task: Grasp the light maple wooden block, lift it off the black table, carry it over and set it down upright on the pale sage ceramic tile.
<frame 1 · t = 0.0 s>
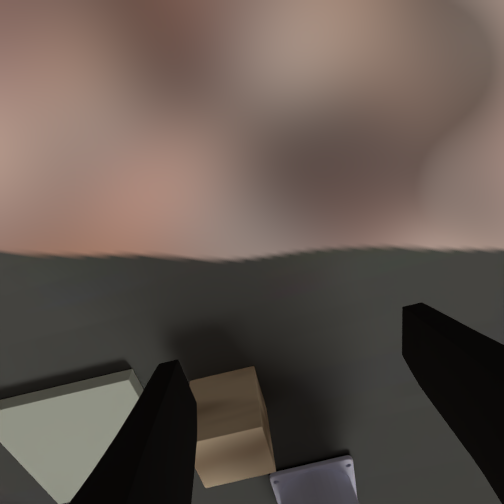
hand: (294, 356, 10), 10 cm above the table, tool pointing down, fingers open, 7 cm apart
maple block: (229, 394, 25), on the table
sage tile: (94, 436, 25), on the table
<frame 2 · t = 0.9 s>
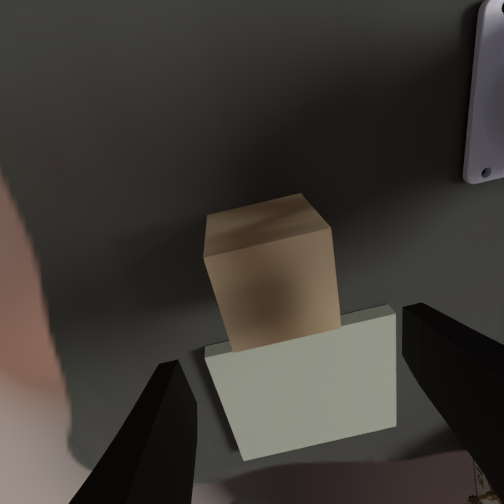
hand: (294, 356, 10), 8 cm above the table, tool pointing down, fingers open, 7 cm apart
maple block: (262, 245, 18), on the table
sage tile: (307, 384, 23), on the table
game die: (488, 432, 28), on the table
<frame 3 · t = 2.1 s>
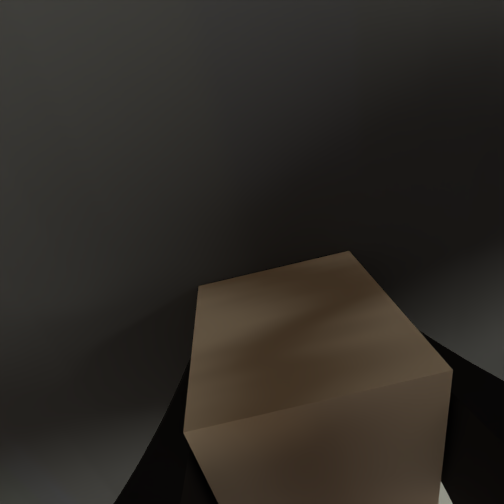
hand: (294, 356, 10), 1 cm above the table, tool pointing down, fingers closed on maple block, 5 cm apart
maple block: (286, 327, 11), on the table, touching gripper
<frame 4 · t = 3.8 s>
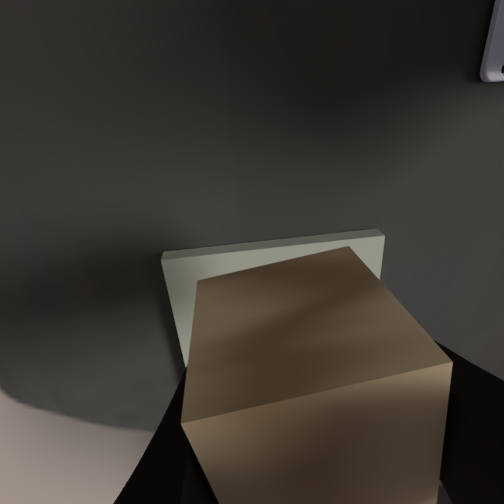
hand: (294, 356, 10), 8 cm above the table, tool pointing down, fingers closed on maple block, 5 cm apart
maple block: (285, 322, 11), point 7 cm above the table, touching gripper
sage tile: (276, 318, 20), on the table
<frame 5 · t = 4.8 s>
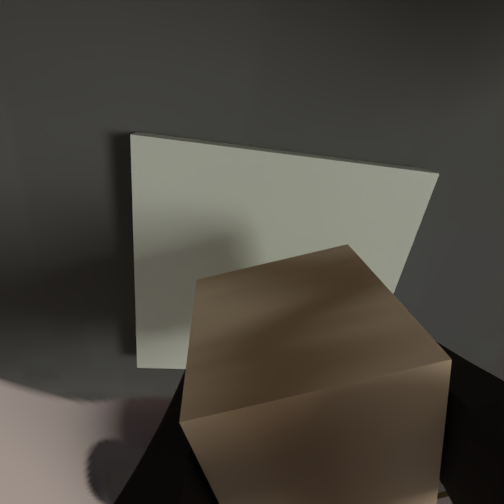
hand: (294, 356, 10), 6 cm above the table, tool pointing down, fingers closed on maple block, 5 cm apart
maple block: (284, 321, 11), point 4 cm above the table, touching gripper
sage tile: (269, 269, 15), on the table
when the fingers open (4 cm above the table, at t = 5.7 s): maple block drops 1 cm, resting on sage tile.
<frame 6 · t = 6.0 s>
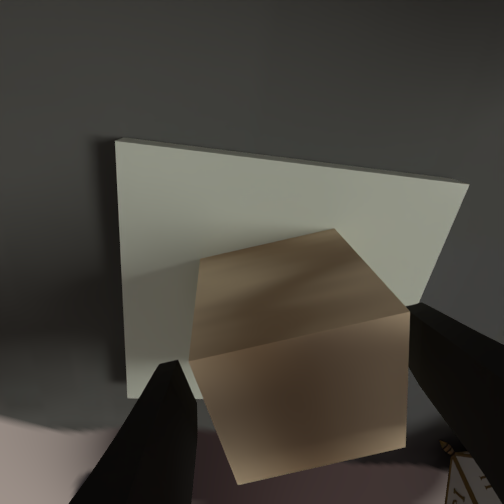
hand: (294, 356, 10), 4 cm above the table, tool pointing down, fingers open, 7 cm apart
maple block: (278, 299, 12), point 1 cm above the table, touching sage tile
sage tile: (274, 290, 13), on the table
game die: (467, 449, 21), on the table
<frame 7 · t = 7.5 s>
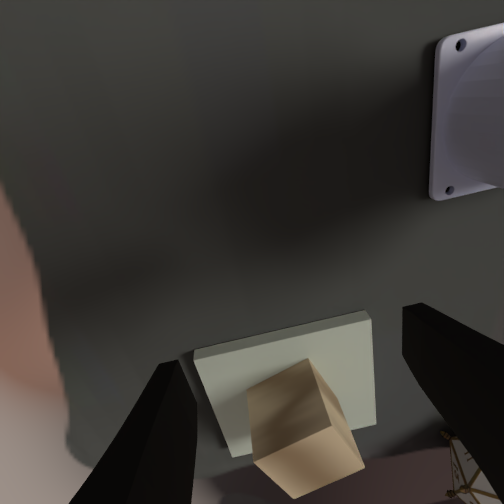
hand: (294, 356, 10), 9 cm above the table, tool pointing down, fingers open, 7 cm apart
maple block: (293, 393, 23), point 1 cm above the table, touching sage tile
sage tile: (291, 384, 24), on the table
game die: (466, 430, 29), on the table
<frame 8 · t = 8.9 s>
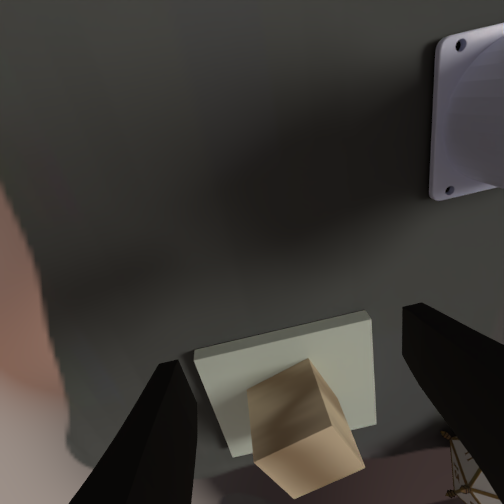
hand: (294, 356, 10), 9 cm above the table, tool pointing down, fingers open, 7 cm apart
maple block: (293, 393, 23), point 1 cm above the table, touching sage tile
sage tile: (291, 384, 24), on the table
game die: (466, 430, 29), on the table
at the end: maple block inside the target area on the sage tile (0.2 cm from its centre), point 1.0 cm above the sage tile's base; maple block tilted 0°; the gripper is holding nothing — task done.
